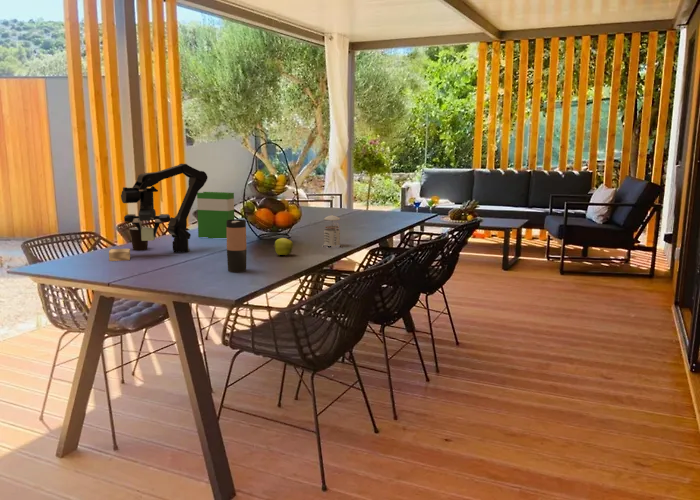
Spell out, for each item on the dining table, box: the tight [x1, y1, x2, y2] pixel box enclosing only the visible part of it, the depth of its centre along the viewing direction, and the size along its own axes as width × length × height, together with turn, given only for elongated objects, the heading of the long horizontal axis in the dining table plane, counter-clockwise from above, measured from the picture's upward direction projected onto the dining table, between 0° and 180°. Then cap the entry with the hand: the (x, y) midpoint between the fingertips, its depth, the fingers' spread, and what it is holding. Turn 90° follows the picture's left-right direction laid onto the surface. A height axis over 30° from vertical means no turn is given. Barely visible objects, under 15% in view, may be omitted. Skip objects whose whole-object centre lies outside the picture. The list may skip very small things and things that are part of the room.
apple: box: [273, 237, 294, 256], centre depth 269 cm, size 8×9×8 cm
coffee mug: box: [129, 226, 149, 252], centre depth 281 cm, size 12×9×10 cm
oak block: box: [108, 248, 131, 262], centre depth 256 cm, size 8×8×4 cm
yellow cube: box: [141, 227, 156, 242], centre depth 264 cm, size 5×5×5 cm
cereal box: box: [196, 191, 235, 239], centre depth 317 cm, size 18×7×24 cm, turn 75°
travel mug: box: [226, 218, 248, 273], centre depth 234 cm, size 8×8×20 cm
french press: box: [323, 195, 341, 246], centre depth 294 cm, size 10×12×25 cm
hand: (148, 237), depth 265 cm, fingers closed on yellow cube, 5 cm apart
